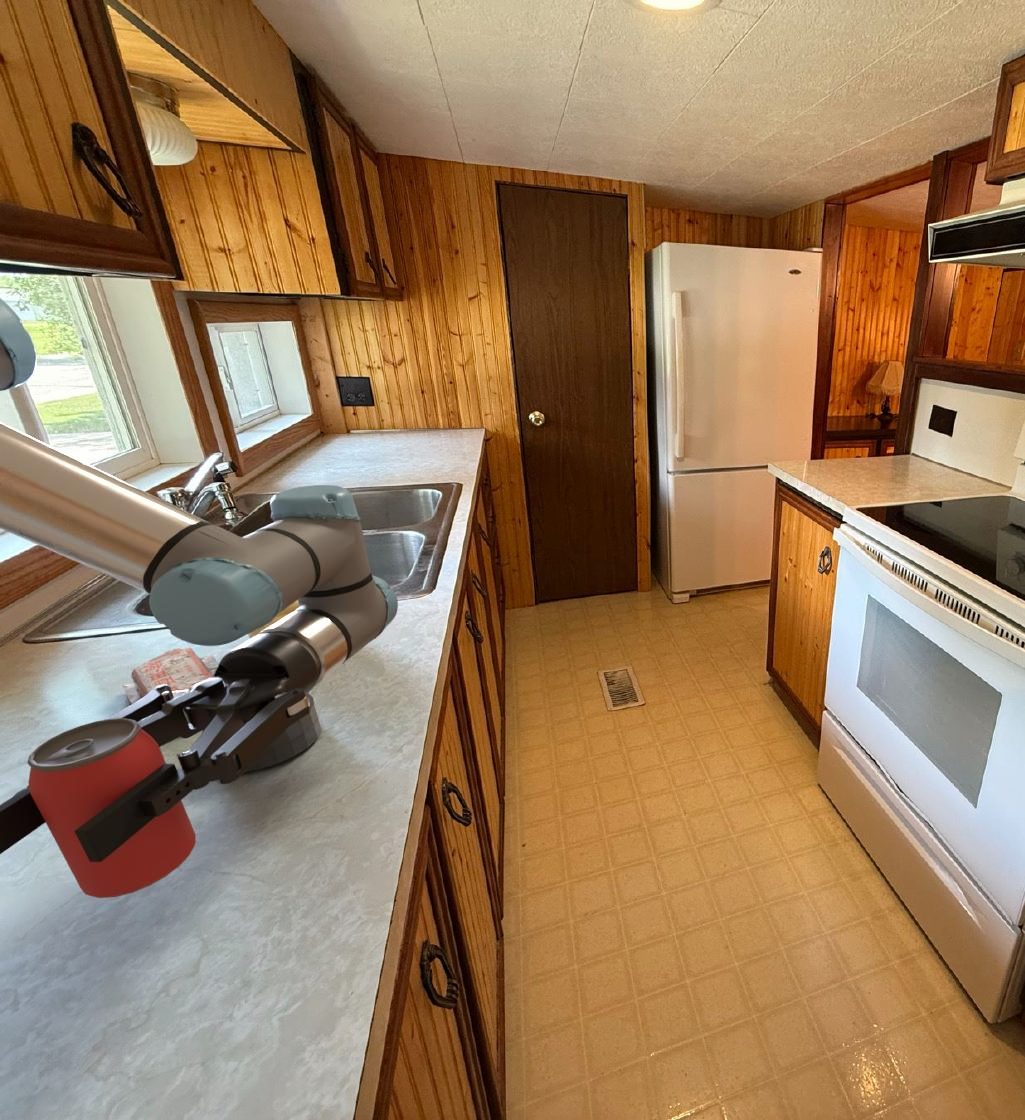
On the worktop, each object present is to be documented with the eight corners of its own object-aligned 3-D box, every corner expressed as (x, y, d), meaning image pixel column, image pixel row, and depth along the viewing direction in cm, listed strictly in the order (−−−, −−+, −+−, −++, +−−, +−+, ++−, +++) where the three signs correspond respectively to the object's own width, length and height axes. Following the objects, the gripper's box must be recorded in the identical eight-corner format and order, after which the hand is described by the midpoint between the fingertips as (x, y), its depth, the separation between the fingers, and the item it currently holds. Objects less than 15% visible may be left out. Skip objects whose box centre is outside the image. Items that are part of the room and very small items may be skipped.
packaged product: (241, 678, 78) (137, 713, 71) (252, 709, 80) (151, 747, 73) (205, 635, 89) (111, 662, 82) (215, 663, 91) (124, 692, 83)
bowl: (189, 775, 68) (176, 743, 67) (260, 718, 78) (250, 689, 77) (282, 776, 68) (271, 744, 67) (341, 719, 78) (332, 690, 77)
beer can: (63, 886, 45) (-6, 757, 41) (168, 823, 51) (116, 705, 47) (115, 915, 43) (47, 783, 39) (217, 847, 49) (169, 725, 45)
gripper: (387, 696, 63) (198, 889, 41) (199, 692, 63) (-88, 884, 41) (372, 632, 60) (161, 804, 38) (176, 628, 60) (-145, 798, 38)
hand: (33, 845), depth 40 cm, fingers closed on beer can, 7 cm apart
